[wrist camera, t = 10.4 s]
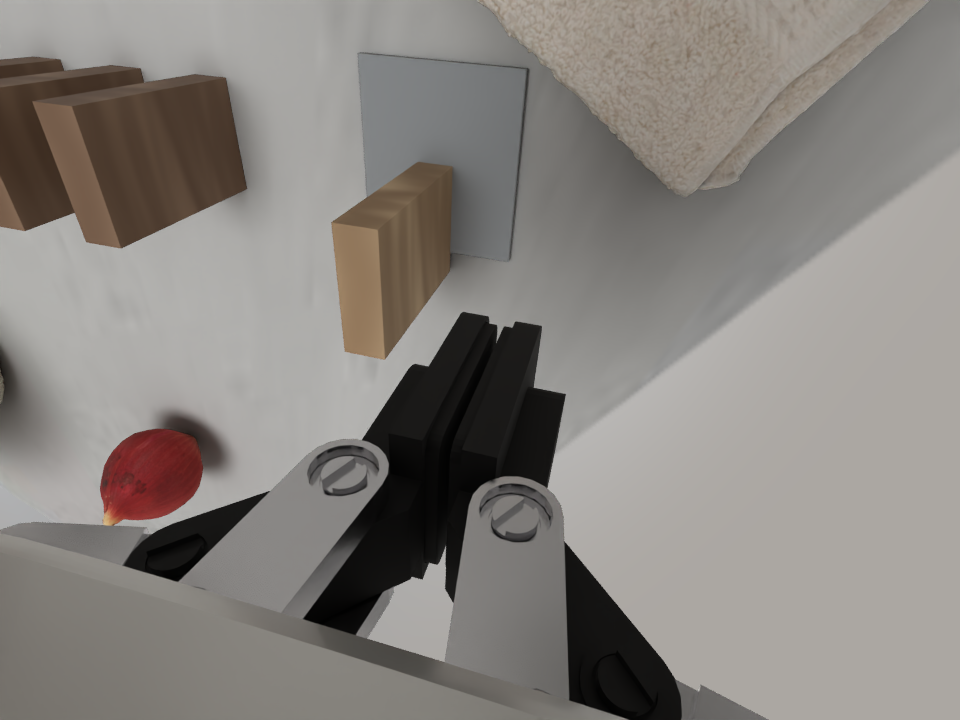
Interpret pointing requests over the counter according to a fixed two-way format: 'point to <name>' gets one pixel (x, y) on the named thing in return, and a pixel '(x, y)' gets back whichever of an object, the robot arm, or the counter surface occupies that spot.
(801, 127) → the counter surface
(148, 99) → the domino
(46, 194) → the domino
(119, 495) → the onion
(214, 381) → the counter surface
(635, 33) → the washcloth
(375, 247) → the domino
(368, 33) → the counter surface
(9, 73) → the domino
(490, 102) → the pad
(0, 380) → the canister
